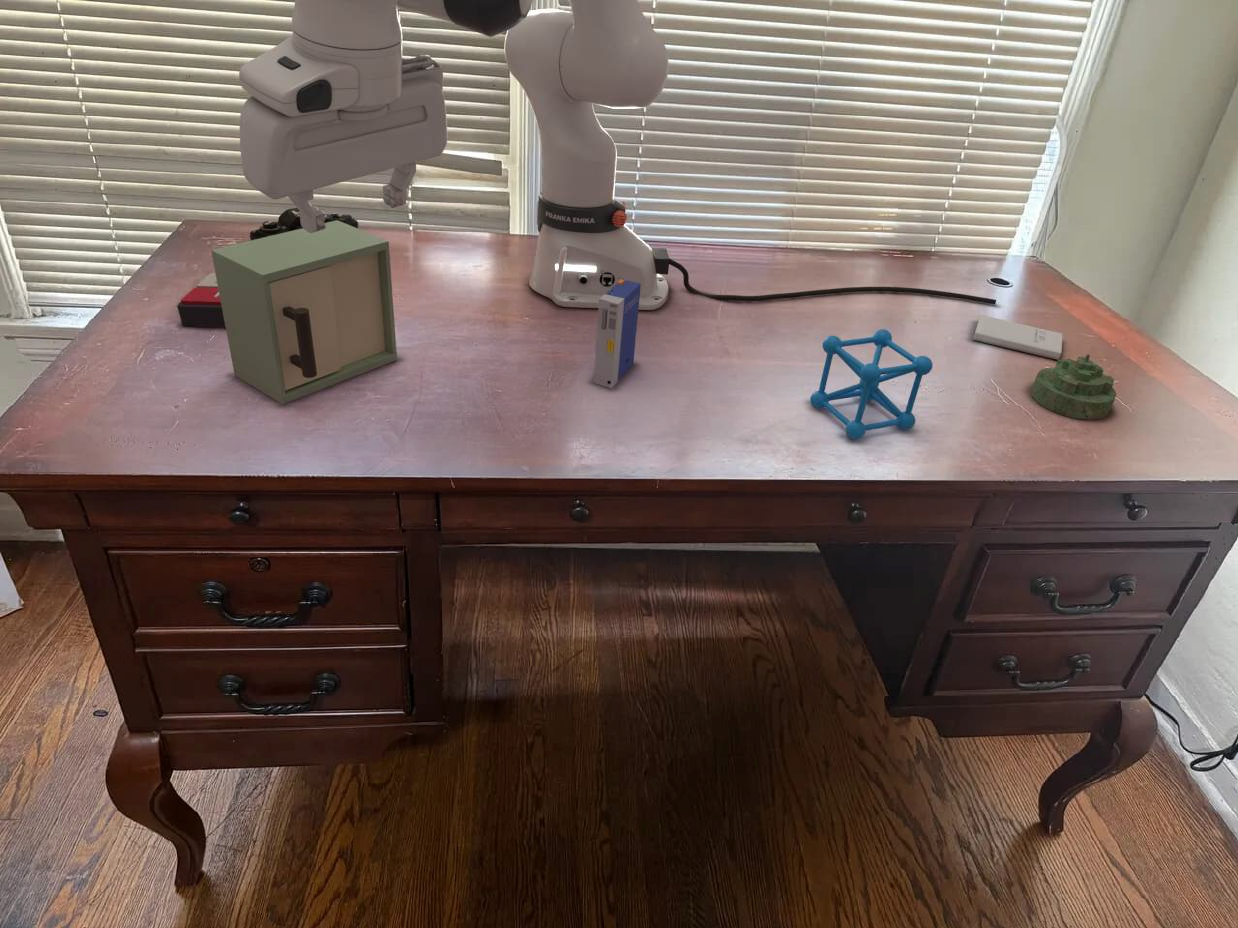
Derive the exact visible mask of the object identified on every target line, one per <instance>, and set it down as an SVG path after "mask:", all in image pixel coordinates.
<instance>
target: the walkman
mask: <svg viewBox="0 0 1238 928" xmlns="http://www.w3.org/2000/svg"><path fill="white" fill-rule="evenodd" d="M640 288H641V283H636V282H632V281H627V280H622V279H620V280H619V281H618V282H617V284H616V285H614V286H613V287H612V288H611V289H610V290H609V291H607V292H606V293H605V294H604V295H603V296H602V297H601V298H599V306H598V308H597V323H596V324H597V325H596V336H595V337H596V338H595V352H594V353H595V354H594V367H593V368H594V369H593V380H592V381H593V384H595V385H600V386H602V387H605V388H609V389H613V388H614V386H615V385H616V384H618V382H619V381H620V380H621V379H622V378H623V376H624V375H625V374H626V373H627V372H628V371H629V370H631V368H632V367H633V366H634V363H635V361H634V360H635V350H636V341H637V330H638V329H637V328H638V320H639V319H638V318H639V310H638V309H639V299H640Z"/></svg>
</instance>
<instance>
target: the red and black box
mask: <svg viewBox="0 0 1238 928" xmlns="http://www.w3.org/2000/svg"><path fill="white" fill-rule="evenodd" d="M176 307H177V311H178V314H179V319H180V322H181V325H182V326H183V327H207V328H209V327H210V328H211V327H212V328H213V327H214V328H215V327H216V328H226V327H225V321H224V316H223V311H222V305H221V300H220V295H219V290H218V284H217V279H216V274H215V273H209V274H207V275H206V276H205V277H204V278H203V279H202V280H201V281H199V282H198V283H197V284H196V287H193V288H192V289H191V290H190V291H189V292H188V293H186V295H184V297H182V298H181V299H180V302H179V303H178V304H177V305H176Z"/></svg>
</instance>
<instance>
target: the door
mask: <svg viewBox="0 0 1238 928" xmlns="http://www.w3.org/2000/svg"><path fill="white" fill-rule="evenodd" d="M268 283H269V290H270V296H271V303H272V309H273V316H274V322H275V329H276V335H277V342H278V348H279V355H280V361H281V368H282V374H283V381H284V387H285V391H286V390H289V389H291V388H294V387H297V386H299V385H302V384H305V383H307V382H310V381H312V380H315V379H318V378H320V377H323V376H326V375H328V374H331V373H334V372H336V371H339V370H341V362H340V353H339V344H338V335H337V326H336V317H335V308H334V299H333V290H332V281H331V272H330V266H325V267H322V268H318V269H315V270H311V271H307V272H304V273H300V274H297V275H293V276H289V277H286V278H282V279H278V280H275V281H271V282H268Z"/></svg>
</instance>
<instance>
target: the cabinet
mask: <svg viewBox="0 0 1238 928" xmlns="http://www.w3.org/2000/svg"><path fill="white" fill-rule="evenodd" d="M325 225H326V227H325V229H323V230H320V231H317V232H314V233H309V232H308V231H306V230H305V229H303V228H302V229H298V230H294V231H290V232H285V233H281V234H277V235H273V236H268V237H264V238H260V239H256V240H251V239H250V240H247V241H243V242H239V243H234V244H230V245H226V246H223V247H218V248H214V249H211V250H210V252H211V257H212V262H213V268H214V274H216V279H217V284H218V290H219V295H220V300H221V305H222V311H223V316H224V321H225V327H224V328H225V333H226V337H227V342H228V347H229V352H230V358H231V364H232V368H233V374H234V376H235V377H236V378H238V379H239V380H241V381H243V382H244V383H246V384H247V385H249V386H251V387H253V388H255V389H256V390H257V391H259V392H262V393H263V394H264V395H266V396H267V397H269V398H271V399H273V400H275V401H276V402H278V403H280V404H281V405H286V404H287V403H290V402H292V401H296V400H298V399H301V398H303V397H306V396H308V395H311V394H314V393H316V392H318V391H321V390H324V389H326V388H328V387H332V386H334V385H336V384H339V383H341V382H345V381H346V380H349V379H352V378H354V377H357V376H359V375H363V374H365V373H367V372H370V371H373V370H375V369H377V368H380V367H383V366H385V365H387V364H391V363H394V362H395V361H397V360H398V355H397V353H398V352H397V341H396V339H397V338H396V325H395V324H396V323H395V311H394V296H393V285H392V282H393V281H392V270H391V269H392V268H391V255H390V241H389V240H387V239H384V238H382V237H380V236H378V235H375V234H372V233H370V232H367V231H364V230H363V229H360V228H358V229H357V228H355V227H353V226H350V225H348V224H345V223H343V222H340V221H338V220H336V221H332V222H328V223H325ZM325 266H330V272H331V281H332V290H333V299H334V308H335V317H336V326H337V335H338V344H339V353H340V362H341V370H339V371H336V372H334V373H331V374H328V375H326V376H323V377H320V378H318V379H315V380H312V381H310V382H307V383H305V384H302V385H299V386H297V387H294V388H291V389H289V390H286V391H285V387H284V381H283V374H282V368H281V361H280V355H279V348H278V342H277V335H276V329H275V322H274V316H273V309H272V303H271V296H270V290H269V283H268V282H271V281H275V280H278V279H282V278H286V277H289V276H293V275H297V274H300V273H304V272H307V271H311V270H315V269H318V268H322V267H325Z"/></svg>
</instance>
